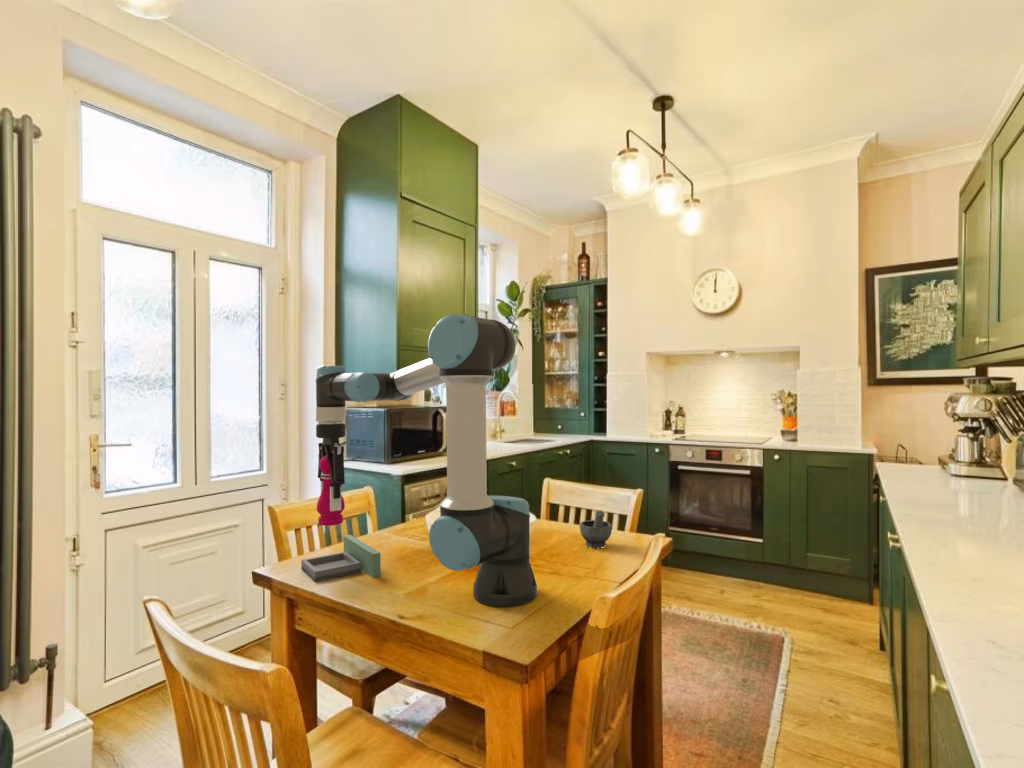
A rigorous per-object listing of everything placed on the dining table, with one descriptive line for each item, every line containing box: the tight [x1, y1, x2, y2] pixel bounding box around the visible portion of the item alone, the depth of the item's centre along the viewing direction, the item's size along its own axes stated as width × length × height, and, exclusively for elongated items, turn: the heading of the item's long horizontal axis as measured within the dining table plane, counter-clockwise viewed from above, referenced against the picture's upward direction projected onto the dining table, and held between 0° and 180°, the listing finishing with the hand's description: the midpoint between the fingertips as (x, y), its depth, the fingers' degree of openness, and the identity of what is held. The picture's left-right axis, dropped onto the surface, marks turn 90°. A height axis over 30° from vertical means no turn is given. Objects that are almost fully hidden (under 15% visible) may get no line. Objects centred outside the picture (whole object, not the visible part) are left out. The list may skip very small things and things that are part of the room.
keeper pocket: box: [300, 551, 362, 582], centre depth 144 cm, size 12×12×2 cm
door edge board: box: [343, 534, 381, 578], centre depth 148 cm, size 22×2×6 cm, turn 37°
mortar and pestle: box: [579, 510, 613, 548], centre depth 165 cm, size 11×9×12 cm
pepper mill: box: [316, 455, 346, 527], centre depth 144 cm, size 7×7×20 cm
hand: (330, 507), depth 144 cm, fingers closed on pepper mill, 7 cm apart
